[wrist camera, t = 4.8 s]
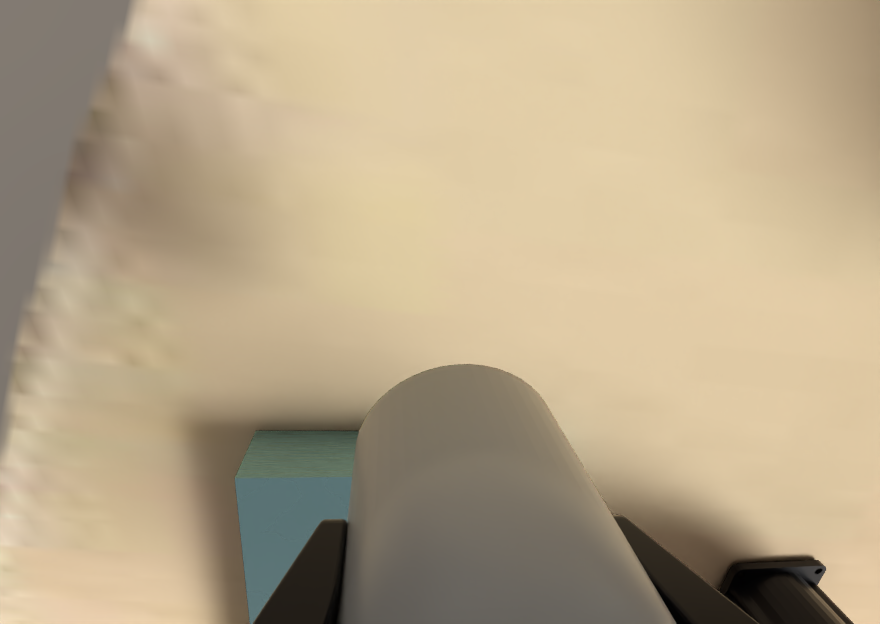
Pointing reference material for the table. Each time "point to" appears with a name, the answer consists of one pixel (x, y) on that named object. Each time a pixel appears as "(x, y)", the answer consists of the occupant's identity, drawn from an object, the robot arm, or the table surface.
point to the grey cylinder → (481, 514)
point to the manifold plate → (288, 500)
